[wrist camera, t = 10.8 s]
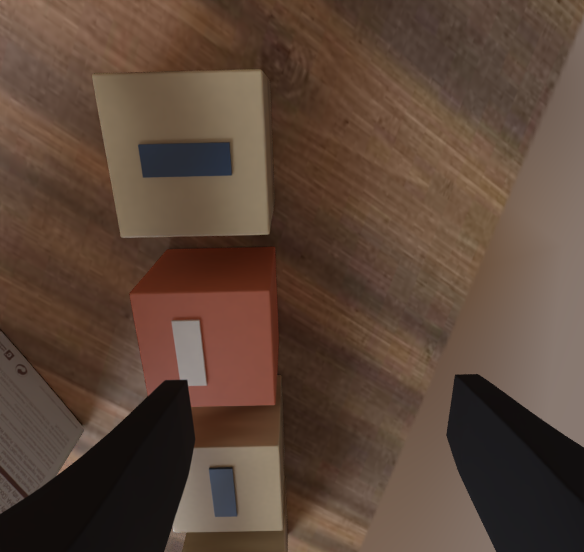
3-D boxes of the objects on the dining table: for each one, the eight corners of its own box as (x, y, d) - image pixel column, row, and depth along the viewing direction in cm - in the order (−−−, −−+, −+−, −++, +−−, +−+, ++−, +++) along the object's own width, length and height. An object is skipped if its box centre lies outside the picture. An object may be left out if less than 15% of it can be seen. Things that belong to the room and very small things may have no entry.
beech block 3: (285, 475, 25) (284, 563, 20) (287, 535, 27) (287, 628, 22) (199, 477, 25) (178, 564, 20) (208, 536, 27) (190, 630, 22)
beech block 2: (281, 374, 22) (279, 447, 17) (284, 448, 24) (282, 533, 19) (185, 376, 22) (157, 450, 17) (196, 450, 24) (172, 535, 19)
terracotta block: (279, 340, 21) (275, 407, 17) (180, 342, 21) (148, 410, 17) (275, 246, 20) (270, 290, 15) (166, 248, 20) (127, 294, 15)
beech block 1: (270, 78, 17) (262, 68, 12) (275, 203, 19) (269, 236, 14) (145, 82, 17) (88, 73, 12) (162, 206, 19) (118, 239, 14)
